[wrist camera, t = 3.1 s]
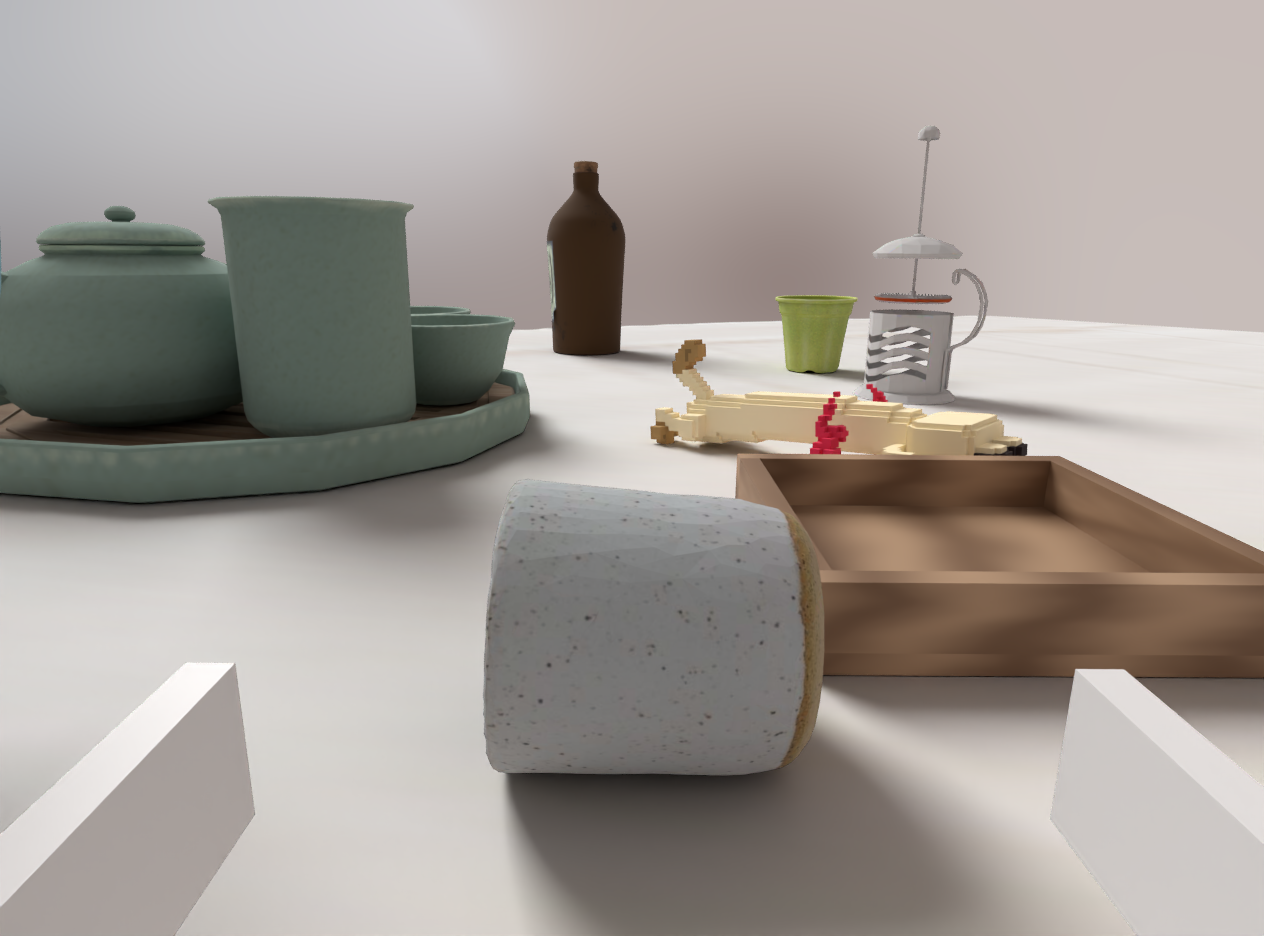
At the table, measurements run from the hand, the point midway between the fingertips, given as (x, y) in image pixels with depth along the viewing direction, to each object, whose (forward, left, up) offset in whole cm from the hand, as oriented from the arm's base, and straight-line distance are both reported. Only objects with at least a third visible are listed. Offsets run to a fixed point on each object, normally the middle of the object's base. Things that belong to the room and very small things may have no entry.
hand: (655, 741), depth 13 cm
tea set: (-28, +50, -6) cm, 58 cm away
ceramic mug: (0, +10, -6) cm, 12 cm away
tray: (+14, +21, -6) cm, 26 cm away
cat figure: (+12, +40, -6) cm, 42 cm away
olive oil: (-6, +102, -6) cm, 102 cm away
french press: (+28, +67, -6) cm, 73 cm away
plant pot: (+22, +85, -6) cm, 88 cm away
